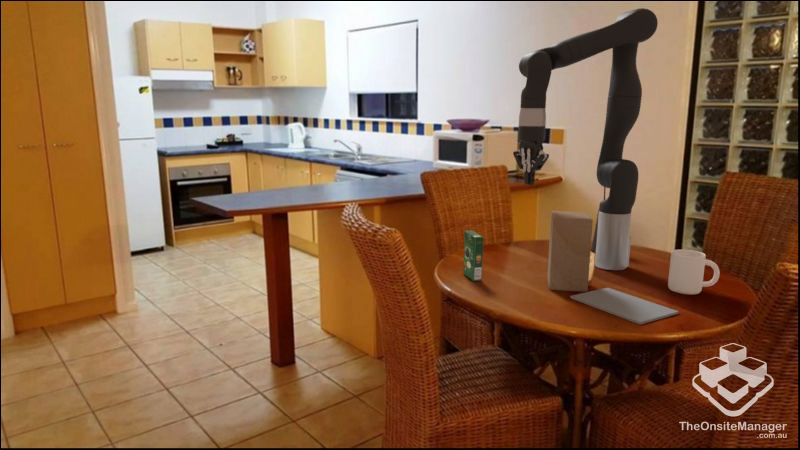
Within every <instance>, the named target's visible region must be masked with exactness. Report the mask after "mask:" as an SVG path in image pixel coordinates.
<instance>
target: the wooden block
mask: <svg viewBox="0 0 800 450" xmlns="http://www.w3.org/2000/svg"><path fill="white" fill-rule="evenodd" d="M593 220H594V219H593V217H592V216H591V214H589V212H588V211H587V212H586V211H583V212H582V211H566V210H565V211H562V210H559V211H558V210H552V211H551V212H550V226H549V228H550V229H549V245H548V246H549V247H548V263H547V264H548V266H547V284H548V289H549V290H551V291H561V292H562V291H563V292H565V291H566V292H580V293H581V292H582V293H586V292H589V291H588V290H589V275H590V262H591V261H590V260H591V247H592V236H593V235H592V233H593V222H594V221H593Z"/></svg>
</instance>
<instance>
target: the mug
mask: <svg viewBox="0 0 800 450" xmlns="http://www.w3.org/2000/svg"><path fill="white" fill-rule="evenodd" d="M706 257H707V255H706V253H704V252H701V251H698V250H693V249H673V250H671V253H670V261H669V270H668V271H669V272H668V279H667V280H668V281H667V287H668V289H669V290H670V291H672V292H675V293H677V294H682V295H698V294H700V293H701V292H702V291H703V288H705V287H706V288H708V287H711V286H713V285H715V284H716V283H717V282H718V281H719V278H720V274H721V273H720V268H719V266H718V264H717V263H715V262H714V261H712V260H710V259H707V258H706ZM705 266H708V267H711V268H712V270H713V277H712V279H710V280H708V281H706V280H704V275H705V274H704V273H705Z"/></svg>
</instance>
